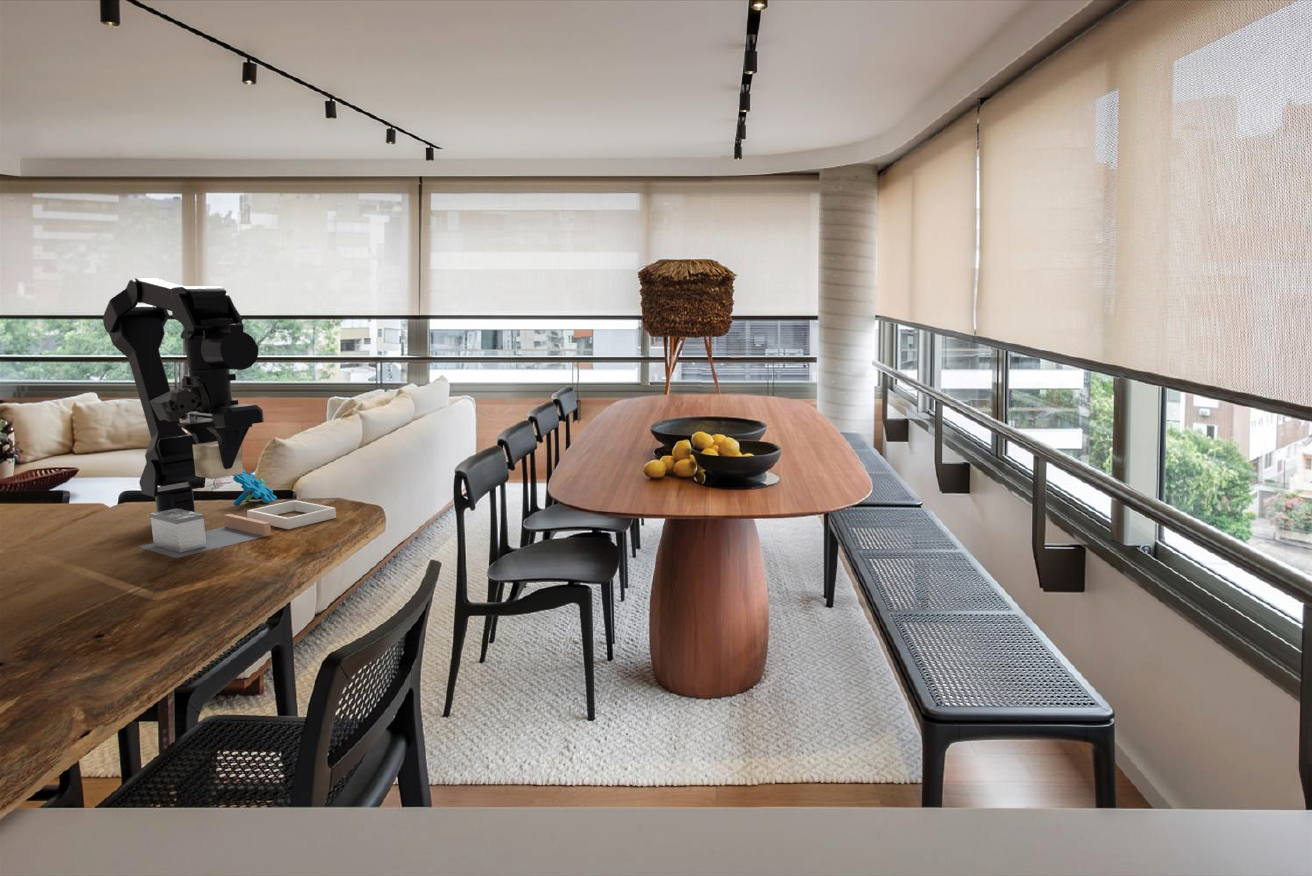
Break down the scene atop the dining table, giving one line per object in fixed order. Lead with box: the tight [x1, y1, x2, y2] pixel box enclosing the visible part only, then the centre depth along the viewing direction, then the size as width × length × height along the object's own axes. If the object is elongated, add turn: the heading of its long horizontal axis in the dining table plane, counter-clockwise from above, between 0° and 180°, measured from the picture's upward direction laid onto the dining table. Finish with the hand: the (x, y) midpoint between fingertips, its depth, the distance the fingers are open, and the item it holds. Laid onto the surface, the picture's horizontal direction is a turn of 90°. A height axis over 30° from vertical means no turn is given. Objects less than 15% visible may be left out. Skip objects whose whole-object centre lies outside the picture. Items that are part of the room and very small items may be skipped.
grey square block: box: [149, 508, 207, 553], centre depth 136 cm, size 8×4×5 cm, turn 54°
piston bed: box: [137, 513, 272, 559], centre depth 139 cm, size 12×15×3 cm
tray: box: [246, 499, 337, 530], centre depth 152 cm, size 12×9×2 cm
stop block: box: [192, 441, 244, 480], centre depth 140 cm, size 5×5×5 cm
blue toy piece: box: [232, 468, 278, 507], centre depth 168 cm, size 11×6×10 cm
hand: (218, 467), depth 140 cm, fingers closed on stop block, 5 cm apart
